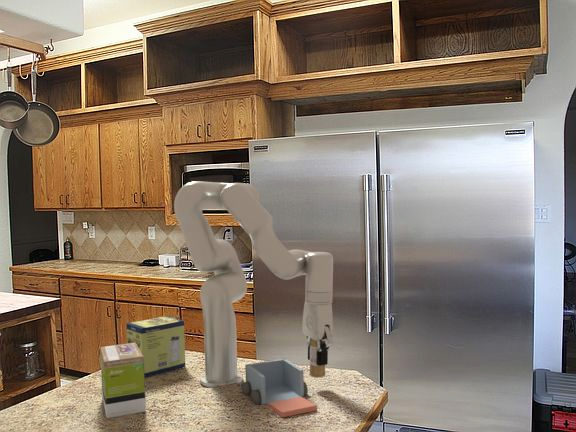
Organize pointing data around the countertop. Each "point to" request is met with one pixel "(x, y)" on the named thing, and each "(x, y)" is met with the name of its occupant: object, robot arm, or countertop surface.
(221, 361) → the robot arm
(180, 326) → the protein box
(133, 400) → the tea box
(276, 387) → the box
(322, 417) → the countertop surface
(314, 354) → the sprinkles bottle
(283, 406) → the panel
